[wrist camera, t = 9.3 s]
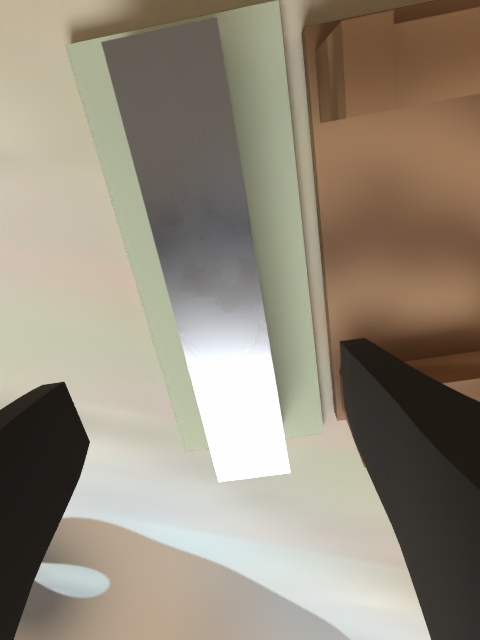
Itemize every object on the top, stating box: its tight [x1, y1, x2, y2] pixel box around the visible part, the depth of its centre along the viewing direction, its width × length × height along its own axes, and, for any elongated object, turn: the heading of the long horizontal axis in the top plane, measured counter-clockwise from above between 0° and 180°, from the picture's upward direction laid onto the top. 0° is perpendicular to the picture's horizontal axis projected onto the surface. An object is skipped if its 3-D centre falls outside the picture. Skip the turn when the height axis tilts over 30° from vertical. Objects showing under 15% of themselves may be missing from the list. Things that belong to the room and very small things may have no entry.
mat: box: [65, 0, 324, 452], centre depth 19 cm, size 20×8×1 cm, turn 10°
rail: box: [101, 17, 290, 482], centre depth 17 cm, size 18×4×4 cm, turn 10°
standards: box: [302, 0, 480, 467], centre depth 16 cm, size 18×8×5 cm, turn 10°
